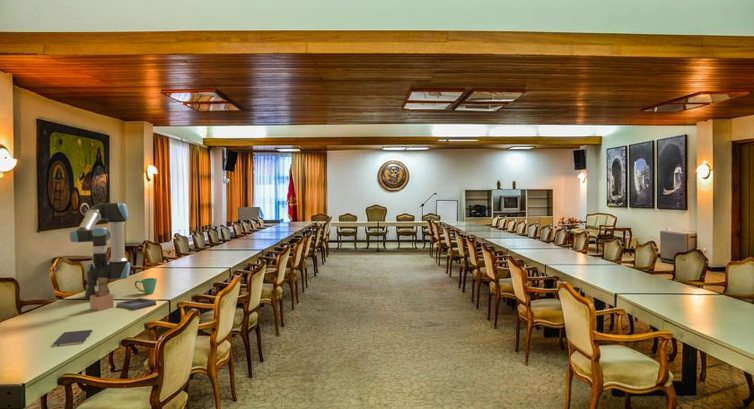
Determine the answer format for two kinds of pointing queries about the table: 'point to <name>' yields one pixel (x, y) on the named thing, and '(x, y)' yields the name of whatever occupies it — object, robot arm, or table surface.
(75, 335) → the notebook
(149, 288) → the mug
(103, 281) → the walnut peg
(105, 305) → the square pink sleeve
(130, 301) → the charcoal tray
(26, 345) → the table surface
